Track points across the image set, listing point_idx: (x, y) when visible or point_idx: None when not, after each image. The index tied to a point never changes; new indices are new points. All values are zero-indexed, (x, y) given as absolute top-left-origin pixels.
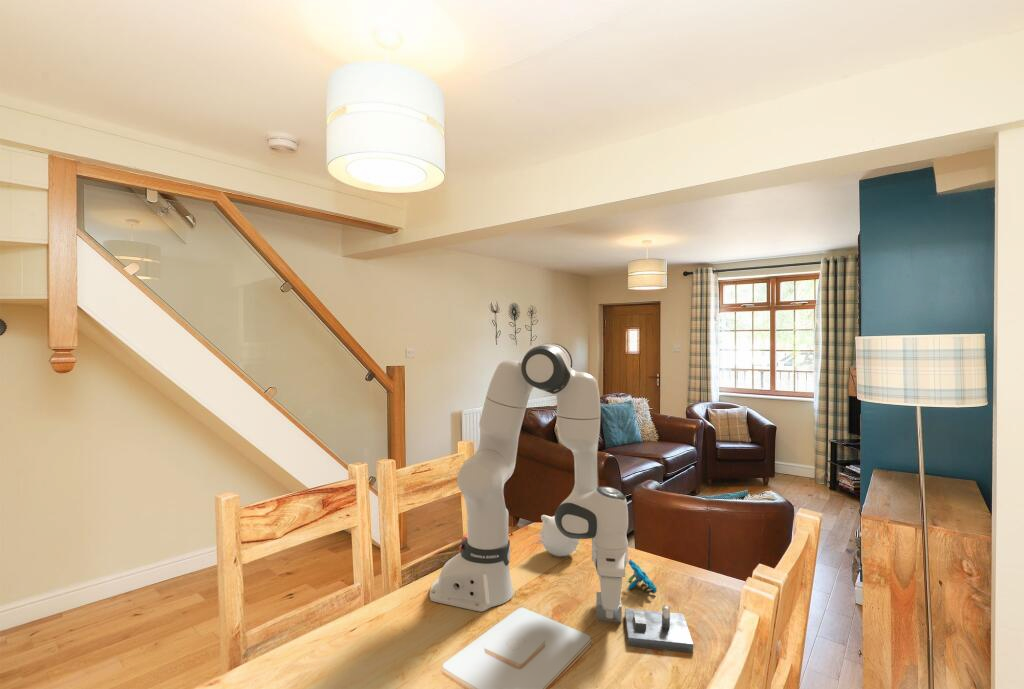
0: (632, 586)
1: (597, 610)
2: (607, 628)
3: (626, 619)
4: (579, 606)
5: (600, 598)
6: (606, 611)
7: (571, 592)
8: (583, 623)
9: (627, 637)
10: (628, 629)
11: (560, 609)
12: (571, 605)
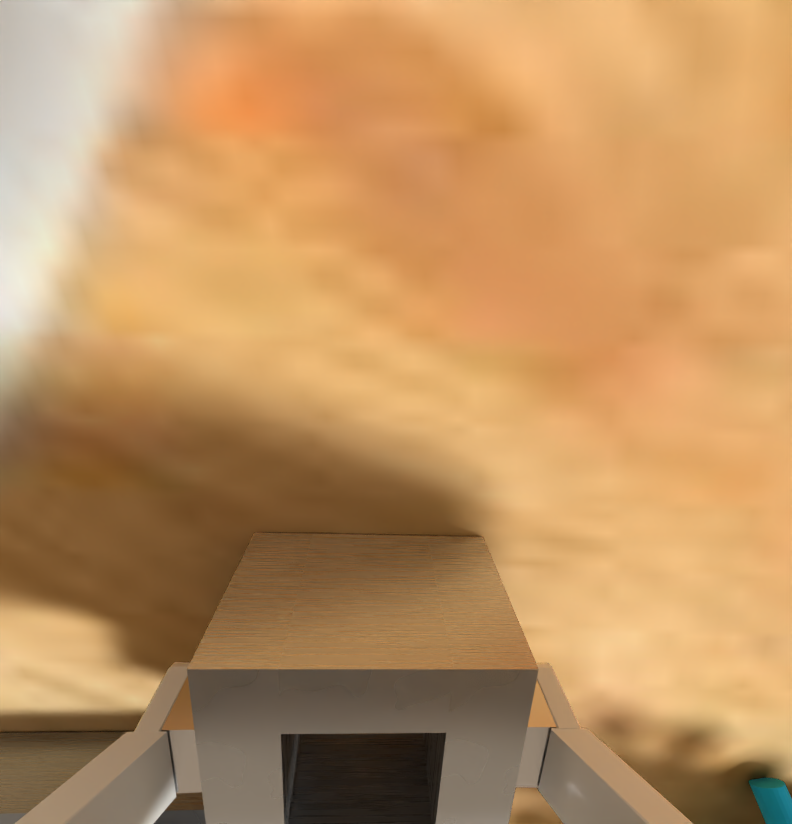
0: (767, 820)
1: (220, 611)
2: (152, 610)
3: (171, 812)
4: (486, 380)
5: (359, 711)
6: (137, 727)
7: (778, 294)
8: (170, 413)
9: (58, 737)
10: (9, 819)
11: (403, 144)
12: (501, 290)
